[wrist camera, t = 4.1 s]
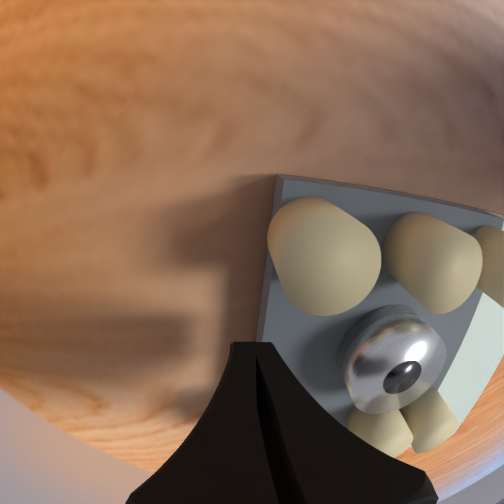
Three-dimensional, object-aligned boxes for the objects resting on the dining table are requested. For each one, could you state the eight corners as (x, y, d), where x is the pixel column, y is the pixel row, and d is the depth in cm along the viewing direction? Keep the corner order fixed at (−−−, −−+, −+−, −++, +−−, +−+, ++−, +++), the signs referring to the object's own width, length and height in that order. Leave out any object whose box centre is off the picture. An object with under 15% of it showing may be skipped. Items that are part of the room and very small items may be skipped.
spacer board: (531, 223, 12) (581, 247, 8) (444, 420, 17) (467, 457, 13) (267, 173, 10) (290, 193, 7) (234, 448, 15) (238, 505, 12)
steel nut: (434, 303, 11) (462, 329, 9) (404, 377, 12) (422, 407, 11) (350, 303, 11) (372, 336, 9) (326, 385, 12) (339, 420, 10)
